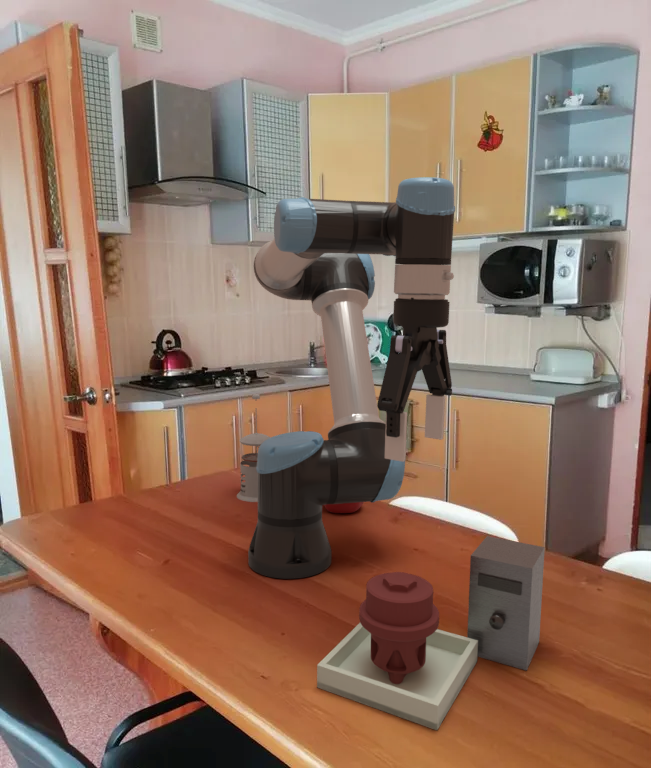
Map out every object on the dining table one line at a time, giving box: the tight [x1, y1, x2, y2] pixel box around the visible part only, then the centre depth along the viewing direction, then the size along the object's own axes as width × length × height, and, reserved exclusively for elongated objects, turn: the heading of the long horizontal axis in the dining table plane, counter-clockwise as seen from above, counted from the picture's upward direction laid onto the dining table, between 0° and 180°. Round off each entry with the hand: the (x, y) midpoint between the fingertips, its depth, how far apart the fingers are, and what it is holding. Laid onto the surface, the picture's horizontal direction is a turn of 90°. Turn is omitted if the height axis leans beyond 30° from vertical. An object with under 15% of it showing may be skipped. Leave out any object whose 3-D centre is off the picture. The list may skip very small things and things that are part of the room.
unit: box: [467, 535, 546, 672], centre depth 86 cm, size 8×9×14 cm
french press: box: [236, 393, 271, 503], centre depth 152 cm, size 10×12×25 cm
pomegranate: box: [323, 502, 364, 514], centre depth 143 cm, size 10×10×9 cm
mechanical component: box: [358, 571, 440, 684], centre depth 80 cm, size 12×10×10 cm
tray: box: [316, 622, 478, 731], centre depth 81 cm, size 16×16×3 cm
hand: (415, 448), depth 90 cm, fingers open, 13 cm apart
